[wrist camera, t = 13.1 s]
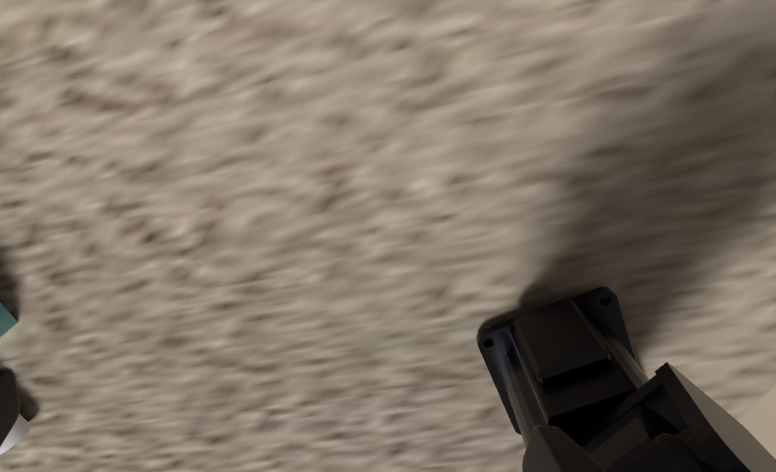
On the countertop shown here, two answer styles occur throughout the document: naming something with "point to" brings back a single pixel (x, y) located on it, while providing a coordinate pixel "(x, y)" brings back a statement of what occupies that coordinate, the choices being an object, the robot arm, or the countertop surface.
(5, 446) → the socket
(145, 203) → the countertop surface
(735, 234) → the countertop surface
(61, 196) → the countertop surface
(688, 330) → the countertop surface
